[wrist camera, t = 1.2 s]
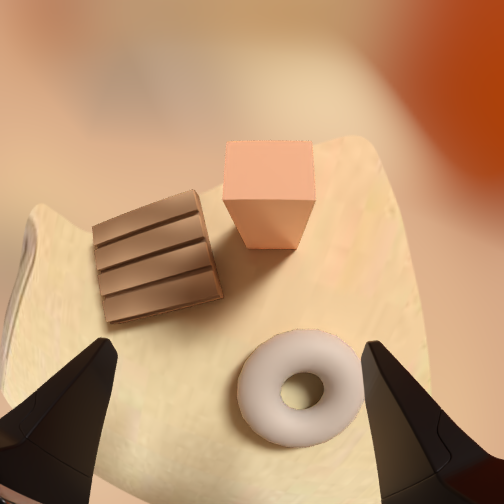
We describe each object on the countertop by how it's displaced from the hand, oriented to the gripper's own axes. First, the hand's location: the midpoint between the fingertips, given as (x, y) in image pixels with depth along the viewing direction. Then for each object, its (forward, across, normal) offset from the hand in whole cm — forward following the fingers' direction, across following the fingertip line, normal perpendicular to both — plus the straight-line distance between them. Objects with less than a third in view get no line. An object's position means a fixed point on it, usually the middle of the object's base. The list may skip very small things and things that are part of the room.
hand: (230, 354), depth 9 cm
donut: (+7, -4, +13) cm, 15 cm away
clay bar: (+15, -1, +3) cm, 15 cm away
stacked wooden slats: (+13, +8, +5) cm, 17 cm away
